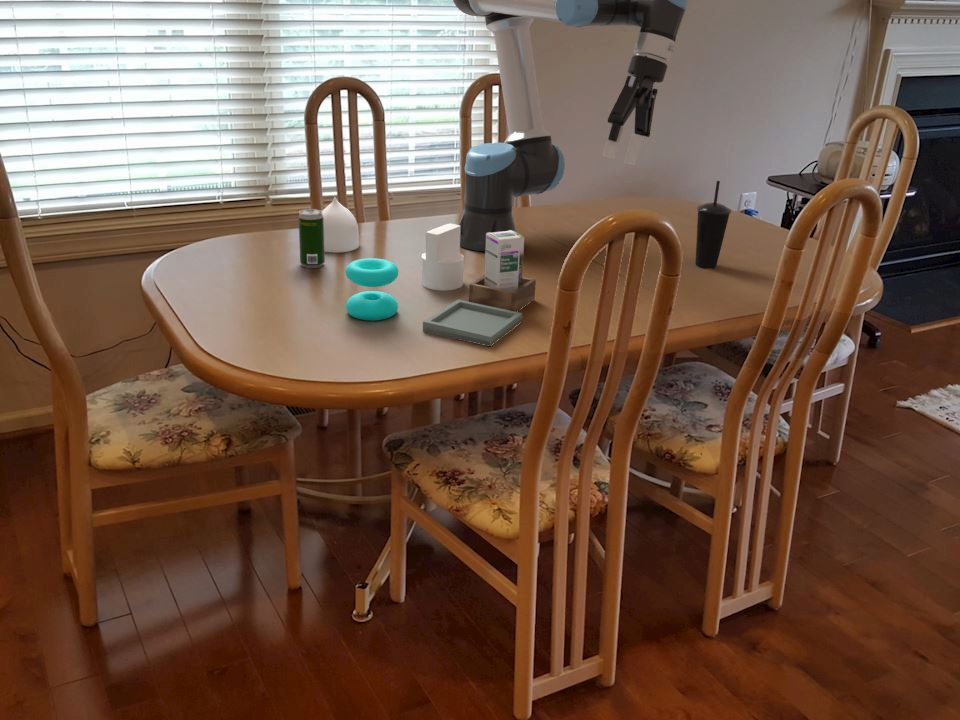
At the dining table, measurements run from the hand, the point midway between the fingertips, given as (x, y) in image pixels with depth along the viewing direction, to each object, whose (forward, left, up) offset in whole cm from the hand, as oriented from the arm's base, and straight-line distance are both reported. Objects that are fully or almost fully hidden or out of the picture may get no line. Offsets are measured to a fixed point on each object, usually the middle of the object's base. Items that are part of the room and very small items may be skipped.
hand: (619, 161), depth 195 cm
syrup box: (-14, -26, -26) cm, 39 cm away
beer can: (-60, -27, -26) cm, 70 cm away
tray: (-12, -41, -26) cm, 50 cm away
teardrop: (-64, -12, -27) cm, 70 cm away
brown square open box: (-14, -26, -26) cm, 39 cm away
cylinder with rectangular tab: (-30, -22, -26) cm, 45 cm away
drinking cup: (+16, +23, -26) cm, 39 cm away
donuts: (-33, -45, -26) cm, 61 cm away
